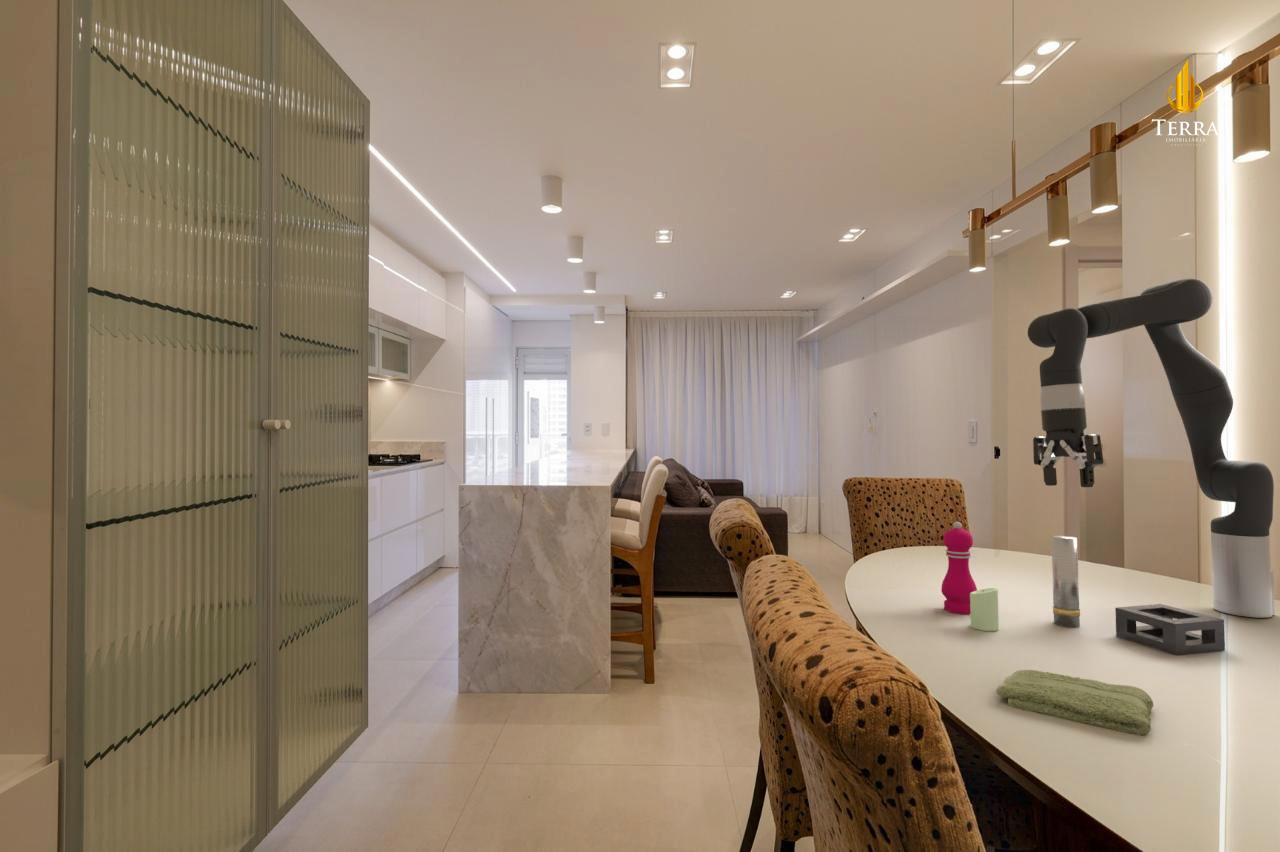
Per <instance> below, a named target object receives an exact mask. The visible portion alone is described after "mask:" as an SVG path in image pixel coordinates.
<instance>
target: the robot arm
mask: <svg viewBox="0 0 1280 852" xmlns="http://www.w3.org/2000/svg"><path fill="white" fill-rule="evenodd" d="M1212 303H1213V293H1212V291H1211V289H1210V287H1209V286H1208V284H1207V283H1205V282H1204V281H1202V280H1200V279H1197V278H1183V279H1177V280H1173V281H1170V282H1166V283H1162V284H1157V285H1155V286H1154V285H1153V286H1151V287H1148V288H1145V289H1144V290H1142V291H1141V293H1140V295H1135V296H1129V297H1121V298H1117V299H1110V300H1105V301H1099V302H1096V303H1091V304H1090V303H1089V304H1086V305H1083V306H1080V307H1078V308H1073V307H1071V308H1064V309H1061V310H1057V311H1053V312H1049V313H1046V314H1042V315H1040V316H1037V317H1035V318H1034V319H1033V320H1032V321H1031V322H1030V324H1029V325H1028V327H1027V337H1028V339H1029V341H1030V342H1031V343H1032V344H1033V345H1035V346H1037V347H1039V348H1041V349H1043V348H1044V349H1045V348H1046V349H1048V348H1054V350H1053V352H1052V354H1051V355H1050V356H1049V357H1047V358H1046V359H1043V360H1042V361H1041V363H1040V364H1039V379H1040V381H1039V382H1040V397H1039V399H1040V413H1041V425H1042V427H1041V428H1042V431H1043V432H1045V434H1046V435H1045V436H1034V437H1033V439H1032V443H1033V444H1032V447H1033V449H1032V450H1033V464H1034V465H1038V466H1040V467H1041V468H1042V472H1043V481H1044V483H1045V486H1049V487H1051V486H1057V485H1058V479H1057V477H1058V476H1057V468H1056V467H1055V466H1056V465H1057V463H1058V461H1059V460H1061V459H1062V458H1063V457H1066V458H1067V457H1068V458H1071V460H1073V461H1074V462H1076V463H1077V465H1078V466H1079V479H1080V481H1079V482H1080V483H1079V484H1080V487H1081V488H1093V486H1094V485H1095V470H1094V468H1096V467H1097V466H1100V465H1103V464H1104V455H1103V454H1104V453H1103V448H1102V447H1103V446H1102V440H1101V435H1100V434H1097V433H1095V434H1085V430H1086V429H1087V427H1088V426H1087V413H1086V402H1085V400H1086V399H1085V398H1086V397H1085V393H1084V389H1083V383H1082V382H1083V381H1082V368H1081V363H1082V359H1083V355H1084V352H1085V348H1086V344H1087V339H1094V338H1098V337H1103V336H1108V335H1111V334H1115V333H1116V334H1117V333H1119V332H1122V331H1126V330H1129V329H1133V328H1137V327H1140V326H1143V327H1145V331H1146V332H1147V334H1148V336H1149V338H1150V340H1151V343H1152V344H1153V346H1154V348H1155V350H1156V352H1157V354H1158V357H1159V359H1160V362H1161V365H1162V367H1163V370H1164V372H1165V375H1166V379H1167V380H1168V381H1167V382H1168V384H1169V387H1170V391H1171V394H1172V397H1173V400H1174V403H1175V405H1176V409H1177V410H1178V413H1179V416H1180V418H1181V420H1182V424H1183V427H1184V431H1185V434H1186V436H1187V439H1188V442H1189V446H1190V450H1191V451H1190V453H1191V456H1192V461H1193V466H1194V470H1195V475H1196V479H1197V482H1198V486H1199V488H1200V490H1201V491H1202V493H1203V494H1204V495H1205V496H1206V497H1207V498H1208V499H1210V500H1212V501H1218V502H1226V503H1228V502H1229V503H1234V504H1235V505H1234V510H1233V512H1231V513H1229V514H1228V515H1223V516H1219V517H1215V518H1213V519H1211V521H1210V544H1211V545H1210V547H1211V548H1210V549H1211V572H1212V573H1211V574H1212V576H1211V577H1212V600H1213V601H1212V604H1213V607H1212V608H1213V609H1214V610H1216V611H1218V612H1221V613H1224V614H1229V615H1233V616H1239V617H1247V618H1262V619H1263V618H1264V619H1265V618H1272V617H1273V615H1275V614H1276V610H1275V606H1276V605H1275V585H1274V584H1275V582H1274V581H1275V580H1274V570H1272V567H1271V547H1270V545H1271V544H1270V528H1271V526H1272V522H1273V516H1274V513H1273V512H1274V493H1275V492H1274V488H1275V487H1274V486H1275V485H1274V477H1273V473H1272V472H1271V470H1270V468H1269V467H1268V465H1266V464H1264V463H1262V462H1260V461H1255V460H1254V461H1253V460H1252V461H1251V460H1249V461H1248V460H1228V459H1227V457H1226V455H1225V452H1224V449H1223V444H1222V435H1223V431H1224V429H1225V427H1226V424H1227V422H1228V420H1229V417H1230V416H1231V413H1232V410H1233V408H1234V399H1233V395H1232V392H1231V389H1230V386H1229V383H1228V380H1227V378H1226V375H1225V374H1224V372H1223V371H1222V369H1220V368H1219V366H1217V365H1216V364H1215V363H1214V362H1212V360H1210V359H1209V358H1208V357H1207V356H1205V355H1204V354H1203V353H1201V352H1200V351H1199V350H1198V349H1196V348H1195V347H1194V346H1193V345H1192V344H1191V343H1190V342H1189V341H1188V340H1187V338H1186V336H1185V334H1184V332H1183V330H1182V328H1181V325H1180V324H1182V323H1183V324H1184V323H1189V322H1193V321H1195V320H1198V319H1200V318H1202V317H1204V316H1205V315H1206V314H1207V313H1208V312H1209V311H1210V309H1211V307H1212Z"/></svg>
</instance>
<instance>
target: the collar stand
mask: <svg viewBox="0 0 1280 852" xmlns="http://www.w3.org/2000/svg"><path fill="white" fill-rule="evenodd" d="M1114 609H1115V636H1116V637H1118V638H1121V639H1124V640H1128V641H1130V642H1134V643H1137V644H1140V645H1143V646H1147V647H1150V648H1152V647H1153V648H1152V649H1155V648H1156V650H1158V649H1159V651H1163V652H1165V653H1167V654H1170V655H1175V656H1181V655H1182V656H1183V655H1193V654H1200V653H1201V654H1203V653H1211V652H1222V651H1223V652H1224V651H1225V650H1226V647H1225V646H1226V645H1225V644H1226V642H1225V640H1226V639H1225V635H1226V634H1225V620H1224V619H1223V618H1219V617H1214V616H1210V615H1206V614H1202V613H1198V612H1194V611H1190V610H1186V609H1182V608H1178V607H1175V606H1170V605H1167V604H1161V603H1156V604H1155V603H1154V604H1144V605H1133V606H1131V605H1130V606H1120V607H1119V606H1117V607H1115V608H1114ZM1137 622H1138V623H1142V624H1145V625H1137ZM1195 631H1200V633H1201V634H1197V633H1195ZM1161 637H1162V638H1161Z"/></svg>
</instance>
